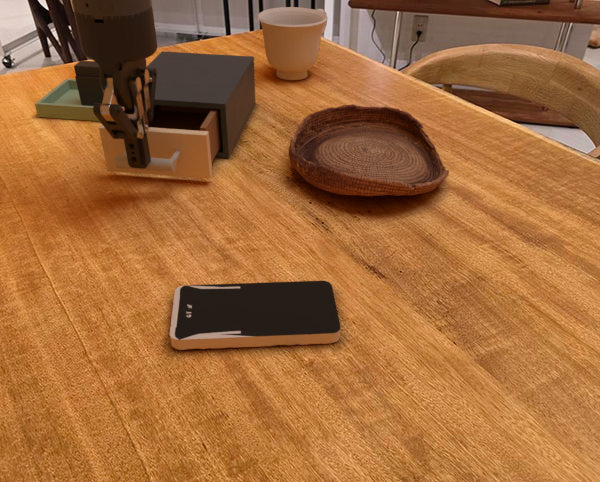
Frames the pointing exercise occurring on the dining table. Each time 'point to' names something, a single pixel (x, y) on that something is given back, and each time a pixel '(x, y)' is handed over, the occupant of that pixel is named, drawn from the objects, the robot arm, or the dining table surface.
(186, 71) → the cabinet
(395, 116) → the basket
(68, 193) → the dining table surface
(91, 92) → the dark brown box
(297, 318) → the smartphone
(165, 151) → the drawer
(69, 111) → the tray
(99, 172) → the dining table surface
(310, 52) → the teacup
